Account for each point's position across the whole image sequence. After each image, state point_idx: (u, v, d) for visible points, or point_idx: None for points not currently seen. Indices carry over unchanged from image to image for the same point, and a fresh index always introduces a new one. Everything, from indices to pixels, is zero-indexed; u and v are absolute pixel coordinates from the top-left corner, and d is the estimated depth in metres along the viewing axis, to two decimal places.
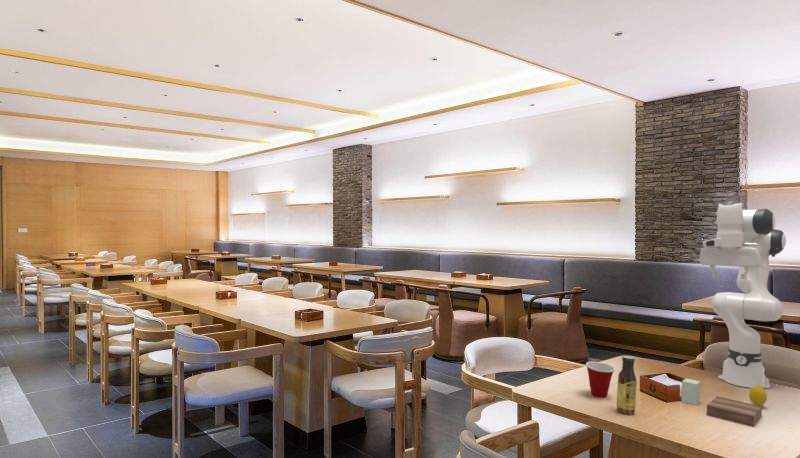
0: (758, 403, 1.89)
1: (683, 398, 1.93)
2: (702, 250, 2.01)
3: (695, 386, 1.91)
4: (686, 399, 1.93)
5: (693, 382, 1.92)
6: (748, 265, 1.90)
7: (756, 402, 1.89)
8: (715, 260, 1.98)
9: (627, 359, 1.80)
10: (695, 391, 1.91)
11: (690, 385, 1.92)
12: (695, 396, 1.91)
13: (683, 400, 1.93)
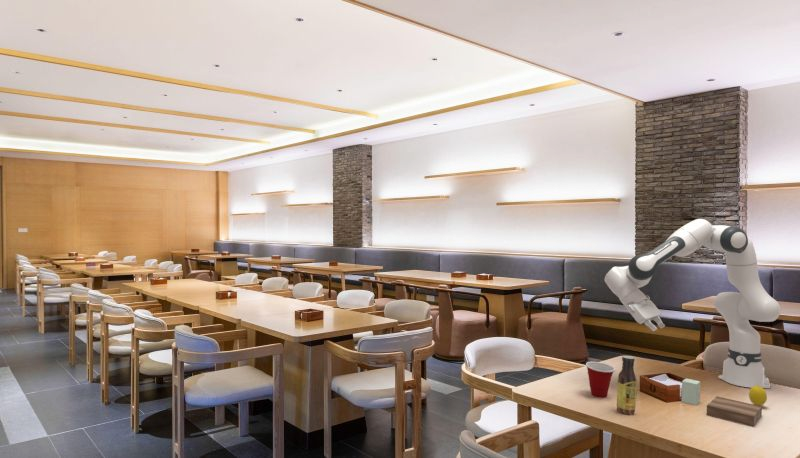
0: (758, 403, 1.89)
1: (683, 398, 1.93)
2: None
3: (695, 386, 1.91)
4: (686, 399, 1.93)
5: (693, 382, 1.92)
6: None
7: (756, 402, 1.89)
8: None
9: (627, 359, 1.80)
10: (695, 391, 1.91)
11: (690, 385, 1.92)
12: (695, 396, 1.91)
13: (683, 400, 1.93)
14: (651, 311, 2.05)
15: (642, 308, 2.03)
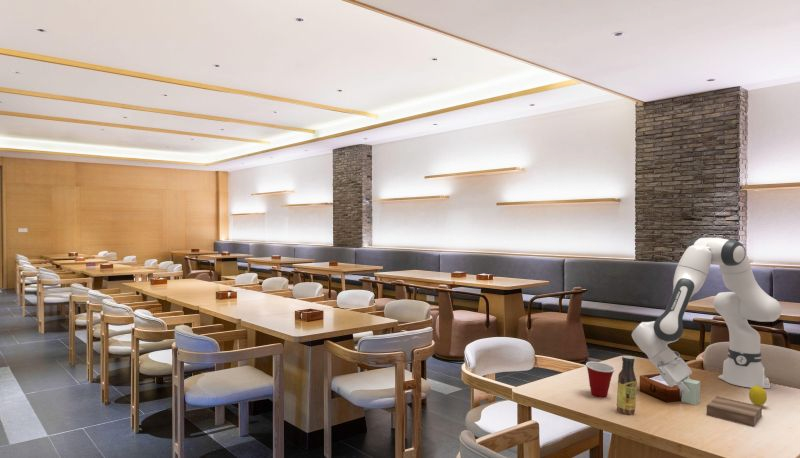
0: (758, 403, 1.89)
1: (683, 398, 1.93)
2: None
3: (695, 386, 1.91)
4: (686, 399, 1.93)
5: (693, 382, 1.92)
6: None
7: (756, 402, 1.89)
8: None
9: (627, 359, 1.80)
10: (695, 391, 1.91)
11: (690, 385, 1.92)
12: (695, 396, 1.91)
13: (683, 400, 1.93)
14: (682, 371, 1.97)
15: (673, 369, 1.95)
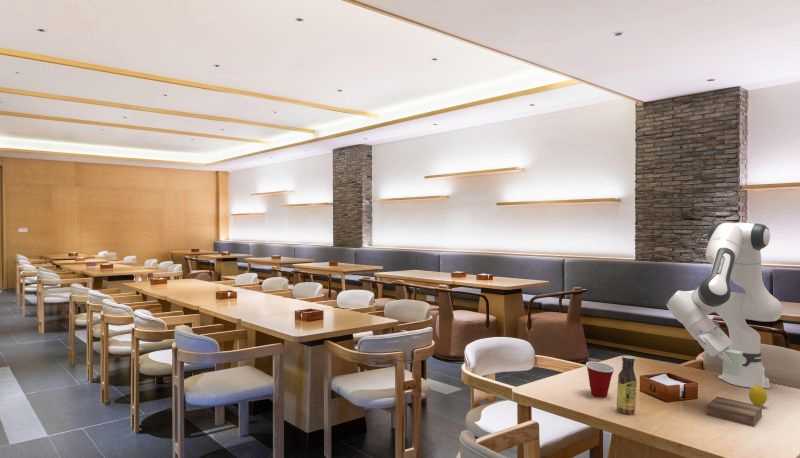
0: (758, 403, 1.89)
1: (724, 369, 1.81)
2: None
3: (738, 356, 1.78)
4: (727, 370, 1.80)
5: (735, 352, 1.80)
6: None
7: (756, 402, 1.89)
8: None
9: (627, 359, 1.80)
10: (738, 361, 1.78)
11: (732, 355, 1.79)
12: (738, 367, 1.78)
13: (724, 371, 1.81)
14: (722, 341, 1.84)
15: (713, 338, 1.82)
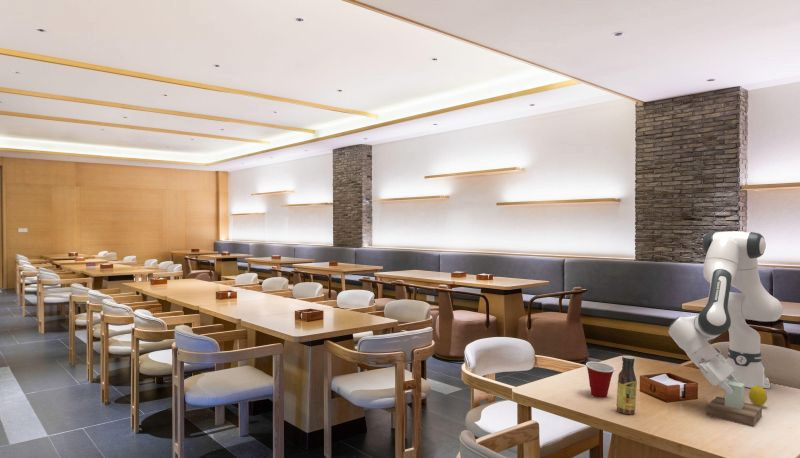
0: (758, 403, 1.89)
1: (726, 402, 1.80)
2: None
3: (740, 389, 1.77)
4: (729, 403, 1.79)
5: (737, 385, 1.79)
6: None
7: (756, 402, 1.89)
8: None
9: (627, 359, 1.80)
10: (740, 394, 1.77)
11: (734, 388, 1.78)
12: (740, 400, 1.77)
13: (726, 404, 1.80)
14: (724, 369, 1.84)
15: (715, 366, 1.81)
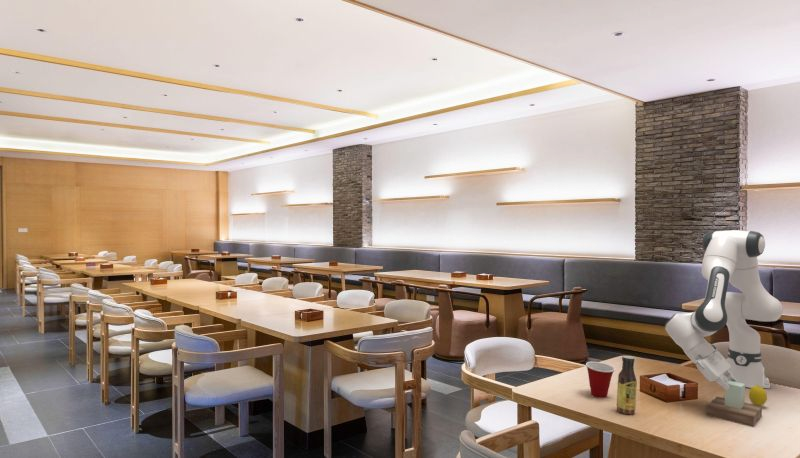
0: (758, 403, 1.89)
1: (726, 401, 1.80)
2: None
3: (740, 389, 1.77)
4: (729, 402, 1.80)
5: (738, 385, 1.79)
6: None
7: (756, 402, 1.89)
8: None
9: (627, 359, 1.80)
10: (740, 394, 1.77)
11: (734, 388, 1.78)
12: (740, 400, 1.77)
13: (726, 404, 1.80)
14: (721, 366, 1.84)
15: (711, 363, 1.82)
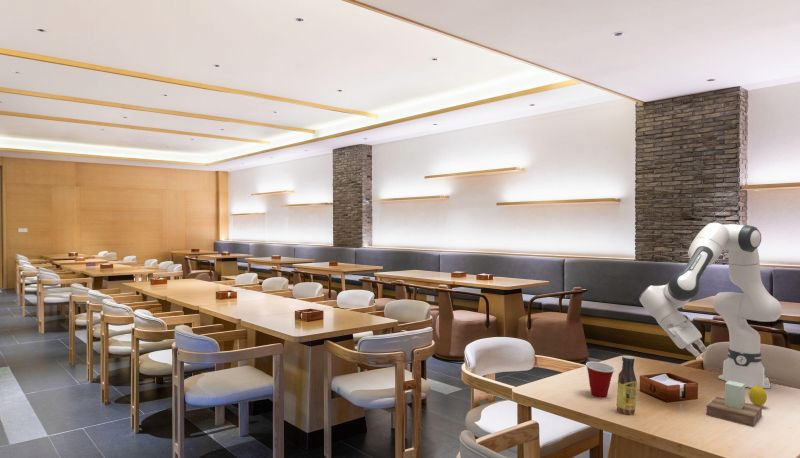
0: (758, 403, 1.89)
1: (726, 402, 1.80)
2: None
3: (740, 389, 1.77)
4: (729, 402, 1.80)
5: (737, 385, 1.79)
6: None
7: (756, 402, 1.89)
8: None
9: (627, 359, 1.80)
10: (740, 394, 1.77)
11: (734, 388, 1.79)
12: (740, 400, 1.77)
13: (726, 404, 1.80)
14: (692, 334, 1.91)
15: (682, 331, 1.89)
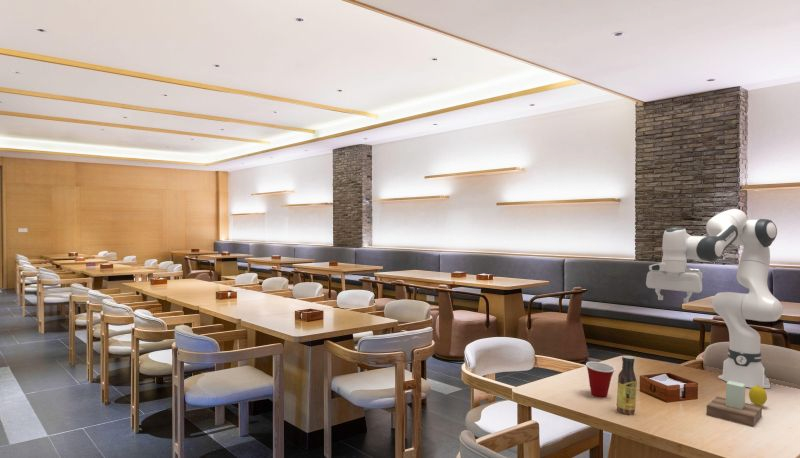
0: (758, 403, 1.89)
1: (727, 402, 1.80)
2: (648, 274, 2.08)
3: (741, 389, 1.77)
4: (730, 403, 1.79)
5: (738, 385, 1.79)
6: (690, 290, 1.98)
7: (756, 402, 1.89)
8: (660, 284, 2.06)
9: (627, 359, 1.80)
10: (741, 394, 1.77)
11: (735, 388, 1.78)
12: (741, 400, 1.77)
13: (727, 404, 1.80)
14: None
15: None
